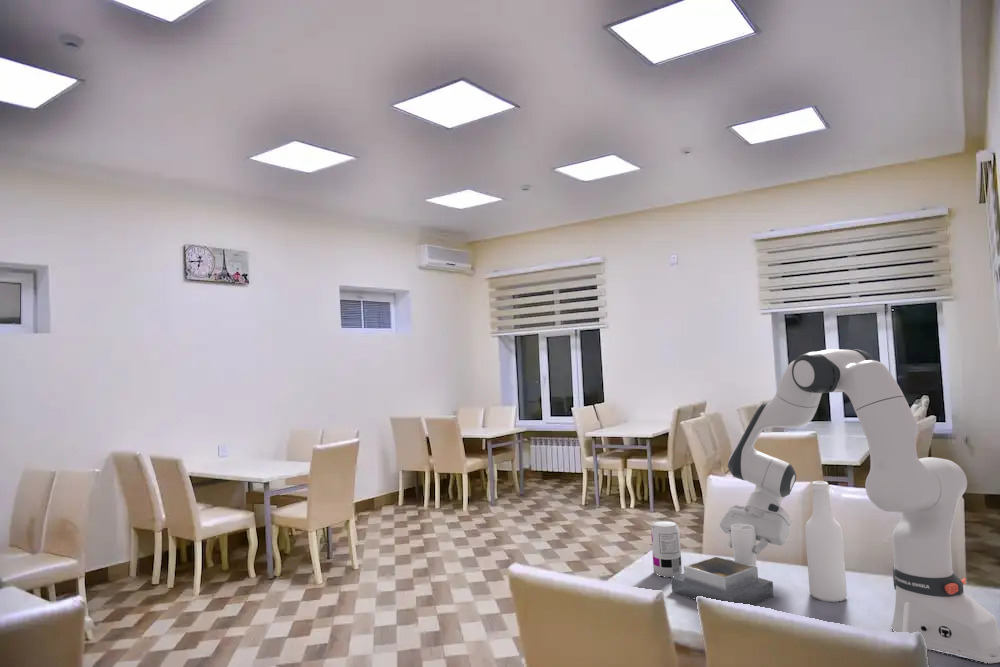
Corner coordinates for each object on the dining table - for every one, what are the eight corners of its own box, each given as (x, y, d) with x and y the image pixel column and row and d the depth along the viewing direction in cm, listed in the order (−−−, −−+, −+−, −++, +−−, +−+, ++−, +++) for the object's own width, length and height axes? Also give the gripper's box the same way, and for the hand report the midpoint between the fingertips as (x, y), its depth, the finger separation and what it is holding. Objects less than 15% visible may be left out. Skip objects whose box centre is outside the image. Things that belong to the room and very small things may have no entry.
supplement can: (648, 575, 194) (645, 524, 194) (662, 567, 200) (659, 518, 200) (673, 580, 188) (670, 528, 189) (686, 572, 194) (683, 522, 195)
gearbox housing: (773, 596, 172) (771, 568, 172) (733, 613, 162) (731, 583, 162) (711, 578, 188) (710, 552, 189) (672, 592, 179) (670, 564, 179)
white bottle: (830, 605, 164) (821, 486, 165) (802, 594, 172) (794, 481, 174) (855, 598, 167) (846, 482, 169) (826, 588, 176) (818, 477, 177)
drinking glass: (762, 582, 182) (759, 529, 183) (738, 583, 183) (735, 530, 183) (753, 574, 189) (750, 523, 190) (730, 575, 189) (727, 524, 190)
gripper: (726, 498, 199) (708, 536, 193) (787, 509, 182) (769, 551, 176) (736, 510, 202) (718, 548, 196) (797, 522, 185) (780, 564, 179)
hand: (743, 550), depth 186 cm, fingers closed on drinking glass, 6 cm apart
